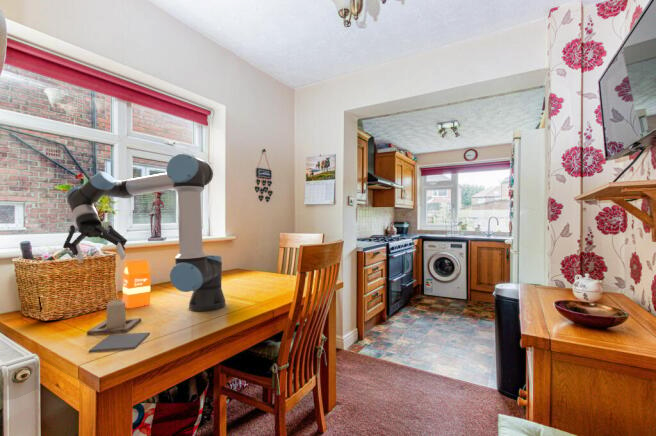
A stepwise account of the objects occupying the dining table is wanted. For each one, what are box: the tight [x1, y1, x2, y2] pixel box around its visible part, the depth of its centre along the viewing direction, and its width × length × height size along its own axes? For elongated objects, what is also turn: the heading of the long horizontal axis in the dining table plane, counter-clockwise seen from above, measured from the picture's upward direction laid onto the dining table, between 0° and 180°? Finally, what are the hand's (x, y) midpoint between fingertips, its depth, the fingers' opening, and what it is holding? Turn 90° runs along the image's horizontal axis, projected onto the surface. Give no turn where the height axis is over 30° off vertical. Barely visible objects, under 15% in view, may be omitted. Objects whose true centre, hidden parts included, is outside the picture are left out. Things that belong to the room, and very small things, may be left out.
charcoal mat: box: [88, 331, 150, 353], centre depth 95 cm, size 12×12×1 cm
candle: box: [105, 298, 126, 328], centre depth 108 cm, size 6×6×10 cm
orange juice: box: [122, 259, 151, 309], centre depth 138 cm, size 8×9×20 cm
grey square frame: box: [86, 317, 142, 336], centre depth 108 cm, size 12×12×1 cm
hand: (103, 259), depth 114 cm, fingers open, 13 cm apart
